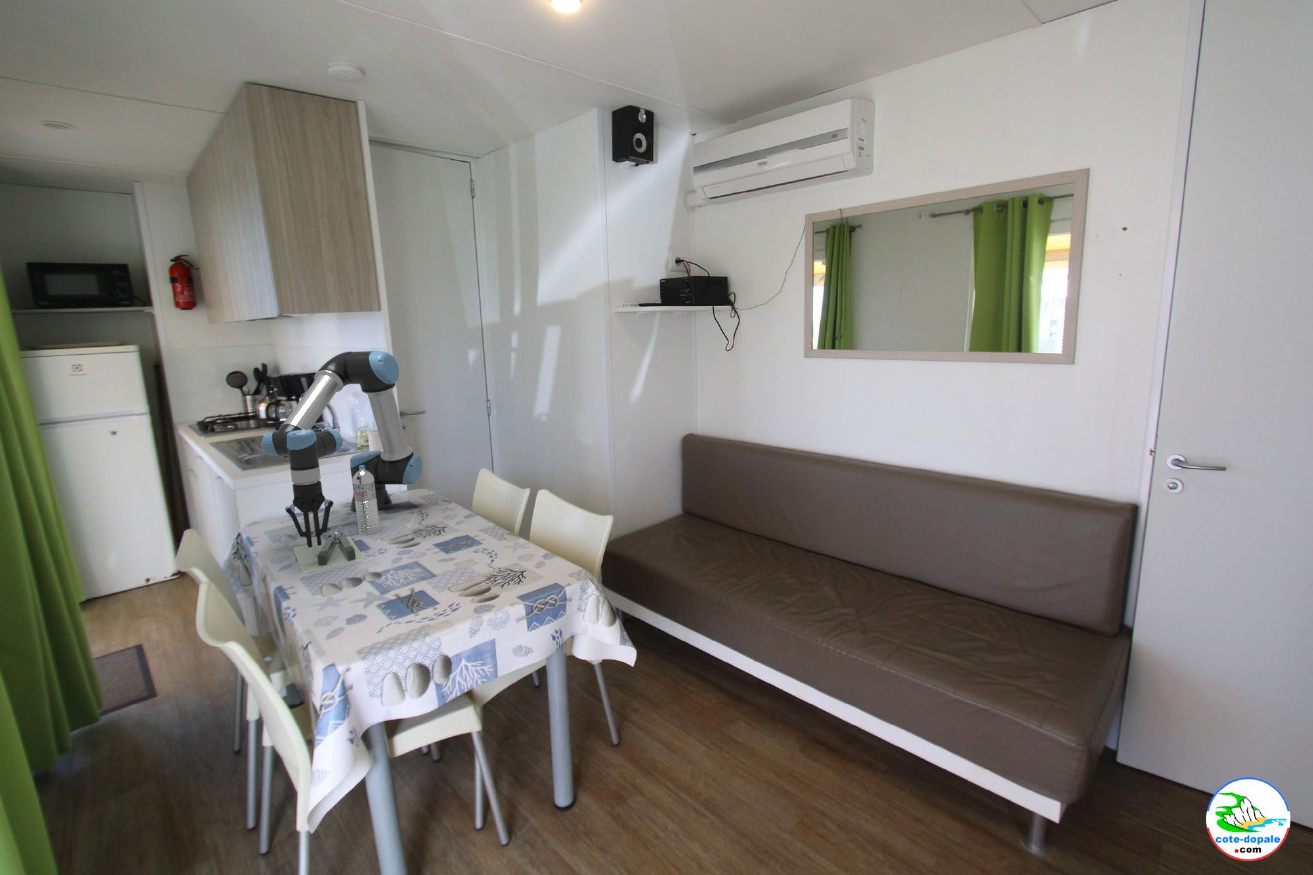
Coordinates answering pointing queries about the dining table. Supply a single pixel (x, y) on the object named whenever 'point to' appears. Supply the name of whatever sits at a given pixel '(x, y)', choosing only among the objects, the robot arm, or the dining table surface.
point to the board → (335, 559)
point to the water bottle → (366, 502)
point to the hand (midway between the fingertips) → (315, 556)
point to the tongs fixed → (343, 544)
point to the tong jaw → (326, 551)
